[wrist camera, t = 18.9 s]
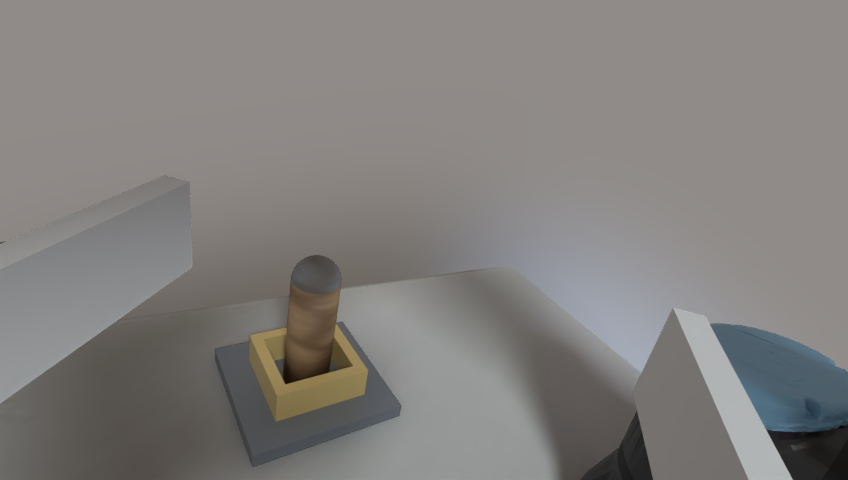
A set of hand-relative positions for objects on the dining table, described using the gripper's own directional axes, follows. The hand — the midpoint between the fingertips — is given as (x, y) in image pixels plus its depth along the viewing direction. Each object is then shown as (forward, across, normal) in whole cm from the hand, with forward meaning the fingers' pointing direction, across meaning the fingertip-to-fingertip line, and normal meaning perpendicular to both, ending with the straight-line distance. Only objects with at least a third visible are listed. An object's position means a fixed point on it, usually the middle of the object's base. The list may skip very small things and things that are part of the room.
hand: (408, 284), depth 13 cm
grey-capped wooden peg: (+29, -14, -34) cm, 47 cm away
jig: (+29, -14, -35) cm, 48 cm away
